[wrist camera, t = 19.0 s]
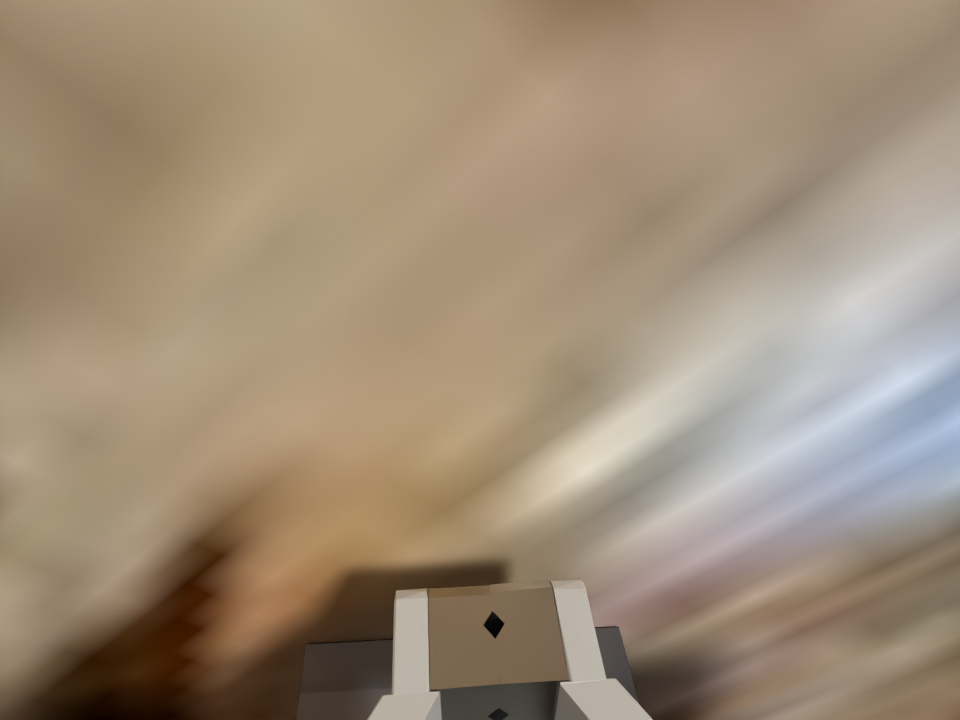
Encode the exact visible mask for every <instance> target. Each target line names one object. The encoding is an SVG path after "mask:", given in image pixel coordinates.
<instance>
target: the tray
mask: <svg viewBox="0 0 960 720" xmlns="http://www.w3.org/2000/svg"><path fill="white" fill-rule="evenodd" d="M595 632H596V636H597V640H598V645H599V649H600V653H601V658H602V662H603V666H604V671H605V675H606V679H608V678H616V679H617V680H618V681H619V683H620V684H621V685H622V686H623V687H624V688H625V689H626V690H627V691H628V693H629V694H630V695H631V696H632V697H633V698H634V699H635V700H636V701H637V702H638V699H637V695H636V691H635V687H634V683H633V680H632V676H631V672H630V668H629V664H628V661H627V657H626V653H625V649H624V645H623V641H622V638H621V634H620V630H619V627H608V628H595ZM392 665H393V640H379V641H362V642H344V643H326V644H309V645H306V648H305V655H304V663H303V671H302V678H301V686H300V694H299V701H298V709H297V717H296V720H367V719H368V717H369V715H370V714H371V712H372V711H373V709H374V707H375V706H376V704H377V703H378V701H379V699H380V698H381V696H382V695H387V694H392ZM638 704H639V703H638Z"/></svg>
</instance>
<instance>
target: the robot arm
mask: <svg viewBox="0 0 960 720" xmlns="http://www.w3.org/2000/svg"><path fill="white" fill-rule="evenodd" d="M367 720H653V719H652V718H651V717H650V716H649V715H648V714H647V712H646V711H645V710H644V709H643V708H642V707H641V706H640V705H639V704H638V702H637V701H636V700H635V699H634V698H633V697H632V696H631V695H630V694H629V693H628V691H627V690H626V689H625V688H624V687H623V686H622V685H621V684H620V683H619V681H618V680H617V679H616V678H608V679H606V675H605V671H604V666H603V662H602V658H601V653H600V649H599V645H598V640H597V636H596V632H595V627H594V623H593V618H592V614H591V610H590V605H589V601H588V597H587V592H586V588H585V585H584V583H583V582H582V580H581V579H580V578H578V579H565V580H552V581H549V580H541V581H529V582H516V583H504V584H492V585H485V586H468V587H451V588H433V589H428V588H424V589H410V590H396V594H395V600H394V628H393V665H392V694H387V695H382V696H381V698H380V699H379V701H378V703H377V704H376V706H375V707H374V709H373V711H372V712H371V714H370V715H369V717H368V719H367Z"/></svg>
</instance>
